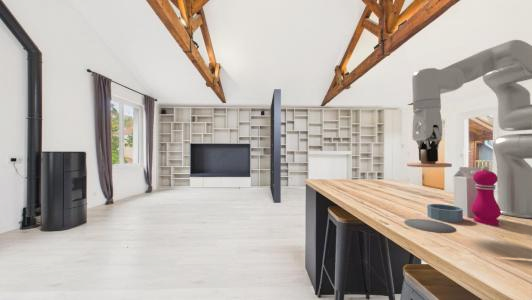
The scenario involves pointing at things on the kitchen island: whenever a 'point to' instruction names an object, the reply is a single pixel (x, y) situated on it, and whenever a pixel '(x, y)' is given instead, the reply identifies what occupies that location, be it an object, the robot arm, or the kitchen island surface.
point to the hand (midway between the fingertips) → (428, 160)
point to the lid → (428, 164)
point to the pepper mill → (485, 198)
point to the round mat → (430, 226)
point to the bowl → (445, 213)
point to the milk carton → (465, 189)
